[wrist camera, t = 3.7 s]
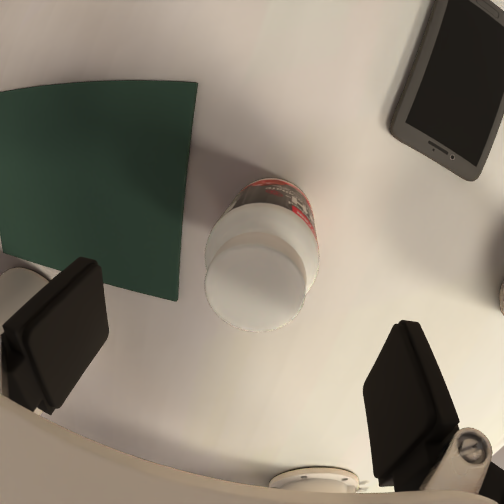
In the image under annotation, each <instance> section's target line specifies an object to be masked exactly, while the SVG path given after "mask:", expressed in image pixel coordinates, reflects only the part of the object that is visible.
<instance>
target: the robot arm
mask: <svg viewBox="0 0 504 504" xmlns="http://www.w3.org/2000/svg"><path fill="white" fill-rule="evenodd" d="M2 327H3V330H4V332H3V333H2V334H0V504H504V470H503V469H501V468H499V467H498V466H497V465H495V464H494V463H492V462H491V458H492V446H491V444H490V442H489V440H488V439H487V437H486V436H485V435H484V434H483V433H482V432H480V431H479V430H477V429H474V428H469V427H467V428H462V429H460V430H459V427H458V423H459V422H460V421H459V418H458V415H457V413H456V410H455V407H454V404H453V402H452V399H451V396H450V394H449V391H448V389H447V386H446V384H445V381H444V379H443V376H442V374H441V371H440V369H439V366H438V364H437V362H436V359H435V357H434V355H433V352H432V350H431V348H430V345H429V343H428V341H427V339H426V337H425V334H424V332H423V330H422V328H421V326H420V324H419V323H418V322H413V321H406V320H401V321H400V322H399V323H398V324H395V325H394V326H393V327H392V329H391V331H390V334H389V336H388V338H387V340H386V342H385V344H384V346H383V348H382V350H381V352H380V354H379V356H378V358H377V360H376V362H375V364H374V366H373V367H372V369H371V371H370V373H369V375H368V377H367V379H366V380H365V383H364V386H363V396H364V403H365V409H366V416H367V423H368V430H369V438H370V446H371V454H372V463H373V473H374V476H375V478H378V480H379V487H385V486H394V490H395V492H389V493H355V492H356V491H357V490H358V488H359V479H358V478H357V476H356V475H354V474H353V473H351V472H348V471H345V470H341V469H335V468H304V469H298V470H293V471H288V472H285V473H282V474H280V475H278V476H276V477H274V478H273V479H272V480H271V481H270V483H269V488H268V487H261V486H254V485H248V484H242V483H236V482H230V481H225V480H220V479H215V478H211V477H206V476H202V475H197V474H193V473H189V472H185V471H182V470H178V469H174V468H170V467H167V466H164V465H160V464H157V463H154V462H150V461H147V460H144V459H141V458H138V457H135V456H132V455H129V454H127V453H124V452H121V451H118V450H116V449H113V448H110V447H108V446H105V445H103V444H100V443H98V442H95V441H93V440H90V439H88V438H86V437H83V436H81V435H79V434H77V433H74V432H72V431H70V430H68V429H66V428H64V427H62V426H59V425H57V424H55V423H53V422H51V421H49V420H47V419H45V418H43V417H41V416H39V415H38V414H36V413H34V411H35V409H36V408H37V407H38V409H40V410H42V411H44V412H46V413H48V414H49V415H52V413H53V412H54V410H55V408H56V409H58V408H60V407H61V406H62V404H63V403H64V401H65V400H66V398H67V397H68V395H69V394H70V392H71V391H72V389H73V388H74V386H75V385H76V383H77V382H78V380H79V379H80V377H81V376H82V374H83V373H84V371H85V370H86V368H87V367H88V366H89V364H90V363H91V361H92V360H93V358H94V357H95V356H96V354H97V353H98V351H99V350H100V348H101V347H102V346H103V344H104V343H105V341H106V340H107V338H108V334H109V327H108V320H107V313H106V305H105V296H104V287H103V276H102V268H101V266H100V265H98V262H97V261H96V260H94V259H90V258H86V257H78V258H77V259H76V260H75V261H73V262H72V263H71V264H70V265H69V266H67V267H66V268H65V269H64V270H63V271H62V272H60V273H59V274H58V275H57V276H56V277H54V278H53V279H52V280H51V281H50V282H49V283H48V284H46V285H45V286H44V287H43V288H42V289H41V290H40V291H38V292H37V293H36V294H35V295H34V296H33V297H32V298H31V299H30V300H29V301H27V302H26V303H25V304H24V305H23V306H22V307H21V308H20V309H19V310H18V311H17V312H16V313H14V314H13V315H12V316H11V317H10V318H9V319H8V320H7V321H6V322H5V323H4V324H3V325H2Z"/></svg>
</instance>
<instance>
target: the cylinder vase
mask: <svg viewBox="0 0 504 504" xmlns="http://www.w3.org/2000/svg"><path fill="white" fill-rule="evenodd" d="M48 283H49V281H48V280H46V279H45V278H44V277H42V276H41V275H39V274H38V273H36V272H34V271H31V270H29V269H25V268H12V269H9V270H7V271H6V272H4V273H3V274H2V275H0V334H2V333H3V332H4V330H3V327H2V325H3V324H4V323H5V322H6V321H7V320H8V319H9V318H10V317H11V316H12V315H13V314H14V313H16V312H17V311H18V310H19V309H20V308H21V307H22V306H23V305H24V304H25V303H26V302H27V301H29V300H30V299H31V298H32V297H33V296H34V295H35V294H36V293H37V292H38V291H40V290H41V289H42V288H43V287H44V286H45V285H46V284H48ZM42 412H43V411H42V410H40V409H38V407H37V408H36V409H35V411H34V413H36V414H38V415H39V416H40V415H41V413H42Z"/></svg>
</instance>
